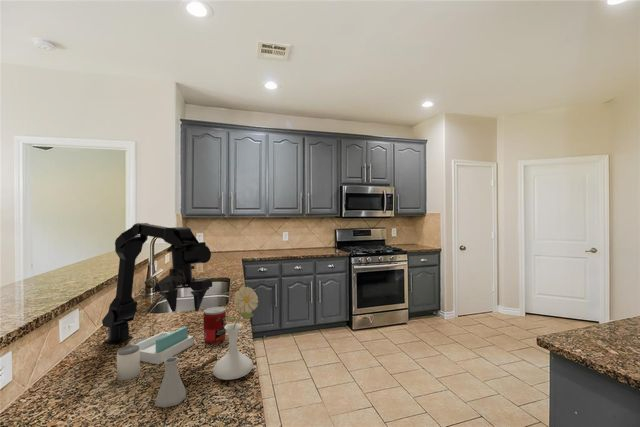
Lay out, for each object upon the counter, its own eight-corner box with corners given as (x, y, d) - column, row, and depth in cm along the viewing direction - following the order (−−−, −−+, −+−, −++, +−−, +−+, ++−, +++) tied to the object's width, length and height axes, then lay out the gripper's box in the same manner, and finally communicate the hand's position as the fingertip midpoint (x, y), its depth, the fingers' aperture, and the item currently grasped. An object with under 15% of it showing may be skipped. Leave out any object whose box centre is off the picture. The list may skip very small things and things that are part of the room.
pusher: (155, 359, 93) (155, 340, 93) (185, 343, 105) (185, 326, 105) (158, 359, 93) (158, 340, 93) (187, 343, 105) (187, 326, 105)
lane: (118, 356, 97) (118, 347, 97) (157, 338, 111) (157, 330, 111) (158, 364, 91) (158, 354, 91) (193, 344, 106) (193, 336, 106)
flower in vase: (215, 388, 78) (215, 294, 78) (210, 369, 88) (210, 286, 89) (263, 376, 84) (263, 288, 85) (253, 359, 94) (252, 281, 95)
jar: (112, 378, 83) (112, 351, 84) (130, 369, 89) (130, 343, 89) (126, 382, 82) (126, 354, 82) (144, 372, 87) (144, 346, 87)
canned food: (218, 344, 106) (218, 313, 106) (199, 342, 107) (199, 312, 108) (229, 335, 113) (229, 307, 113) (210, 334, 115) (210, 306, 115)
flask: (162, 391, 77) (162, 353, 77) (191, 390, 78) (191, 352, 78) (148, 409, 70) (148, 367, 70) (180, 407, 70) (180, 366, 70)
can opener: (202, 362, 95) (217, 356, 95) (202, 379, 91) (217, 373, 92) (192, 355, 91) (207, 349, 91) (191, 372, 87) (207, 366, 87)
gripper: (139, 269, 93) (142, 319, 92) (188, 266, 88) (192, 318, 87) (166, 264, 104) (169, 309, 103) (211, 261, 99) (215, 308, 98)
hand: (185, 311), depth 98 cm, fingers open, 9 cm apart
